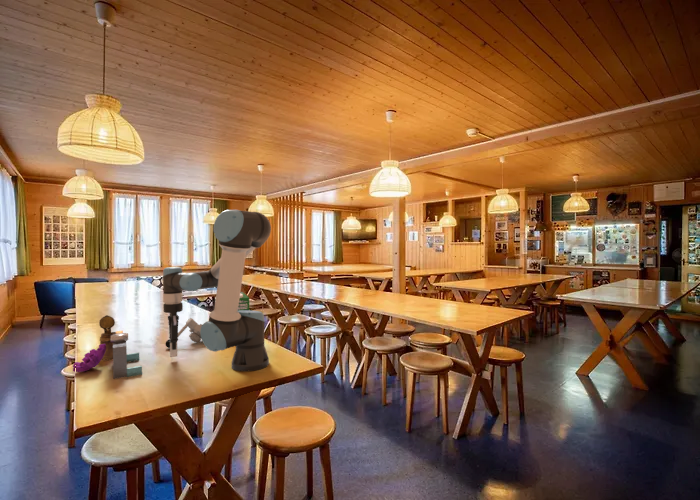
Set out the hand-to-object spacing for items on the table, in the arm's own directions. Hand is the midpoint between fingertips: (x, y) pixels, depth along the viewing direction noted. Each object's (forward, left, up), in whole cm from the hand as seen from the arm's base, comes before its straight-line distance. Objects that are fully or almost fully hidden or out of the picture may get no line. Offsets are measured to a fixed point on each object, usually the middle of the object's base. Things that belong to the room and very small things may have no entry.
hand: (173, 356), depth 158 cm
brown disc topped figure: (+24, +24, -2) cm, 34 cm away
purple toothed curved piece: (+6, +30, -2) cm, 31 cm away
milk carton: (+19, -33, -2) cm, 38 cm away
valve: (+25, -15, -5) cm, 29 cm away
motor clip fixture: (0, +18, -2) cm, 18 cm away
